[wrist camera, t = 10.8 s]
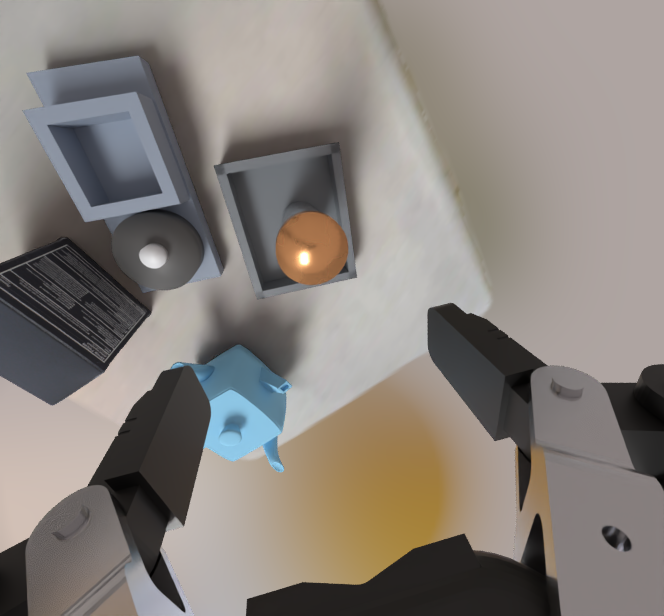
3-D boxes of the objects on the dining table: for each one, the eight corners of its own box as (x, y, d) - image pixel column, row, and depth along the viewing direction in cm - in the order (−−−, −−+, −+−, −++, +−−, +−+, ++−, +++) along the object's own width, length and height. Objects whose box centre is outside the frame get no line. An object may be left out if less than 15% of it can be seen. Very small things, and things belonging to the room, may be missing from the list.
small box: (17, 271, 29) (-105, 323, 20) (66, 234, 28) (-36, 270, 19) (110, 342, 34) (48, 411, 24) (154, 312, 33) (107, 371, 24)
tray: (219, 164, 28) (213, 165, 25) (332, 143, 28) (338, 142, 26) (258, 288, 34) (257, 299, 31) (350, 268, 34) (357, 277, 32)
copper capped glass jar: (269, 200, 29) (266, 221, 19) (320, 190, 30) (342, 206, 20) (282, 250, 32) (285, 291, 22) (329, 240, 32) (352, 276, 22)
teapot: (150, 358, 35) (109, 424, 27) (243, 295, 34) (231, 343, 25) (248, 434, 44) (240, 503, 35) (325, 386, 42) (338, 447, 33)
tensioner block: (45, 79, 23) (-15, 58, 18) (148, 63, 24) (116, 38, 19) (150, 285, 31) (127, 307, 27) (223, 269, 32) (214, 288, 27)
